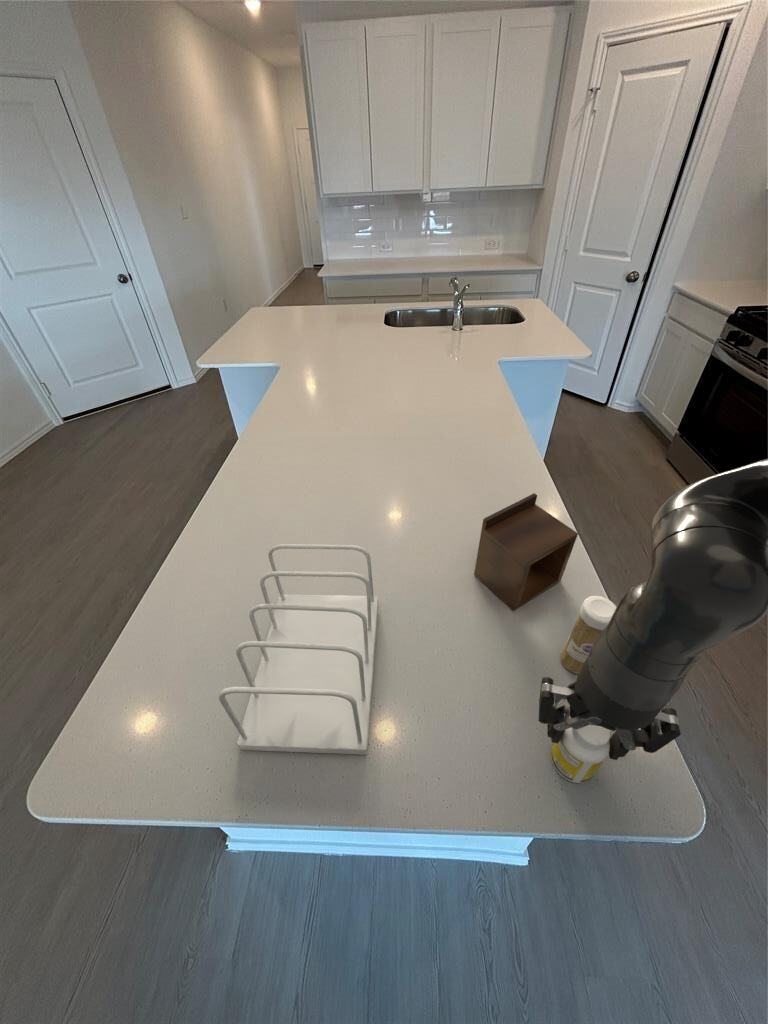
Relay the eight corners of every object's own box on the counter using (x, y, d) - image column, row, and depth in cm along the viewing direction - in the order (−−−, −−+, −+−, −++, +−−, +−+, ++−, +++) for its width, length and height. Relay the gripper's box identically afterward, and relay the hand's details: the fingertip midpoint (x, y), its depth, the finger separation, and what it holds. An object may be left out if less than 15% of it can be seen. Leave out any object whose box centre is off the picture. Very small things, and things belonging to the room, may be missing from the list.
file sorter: (281, 600, 78) (263, 537, 68) (378, 603, 77) (375, 539, 67) (238, 750, 59) (205, 693, 49) (367, 756, 58) (360, 699, 48)
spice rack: (560, 581, 80) (581, 524, 71) (513, 611, 75) (529, 554, 66) (519, 548, 86) (534, 492, 77) (473, 574, 81) (483, 518, 72)
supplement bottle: (590, 744, 59) (614, 710, 52) (596, 789, 55) (622, 758, 48) (548, 735, 60) (566, 700, 53) (550, 778, 56) (570, 746, 49)
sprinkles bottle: (565, 676, 66) (591, 622, 57) (555, 649, 69) (578, 595, 61) (596, 674, 66) (626, 621, 57) (584, 648, 69) (611, 593, 61)
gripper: (551, 686, 42) (520, 757, 52) (725, 731, 38) (652, 796, 49) (552, 622, 47) (523, 698, 58) (704, 656, 44) (643, 730, 54)
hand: (582, 742), depth 53 cm, fingers open, 6 cm apart
